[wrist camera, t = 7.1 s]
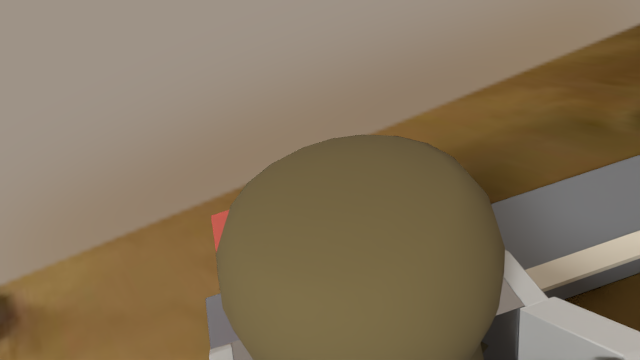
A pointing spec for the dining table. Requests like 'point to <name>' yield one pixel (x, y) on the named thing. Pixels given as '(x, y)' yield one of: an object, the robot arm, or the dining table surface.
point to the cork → (362, 255)
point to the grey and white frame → (552, 236)
